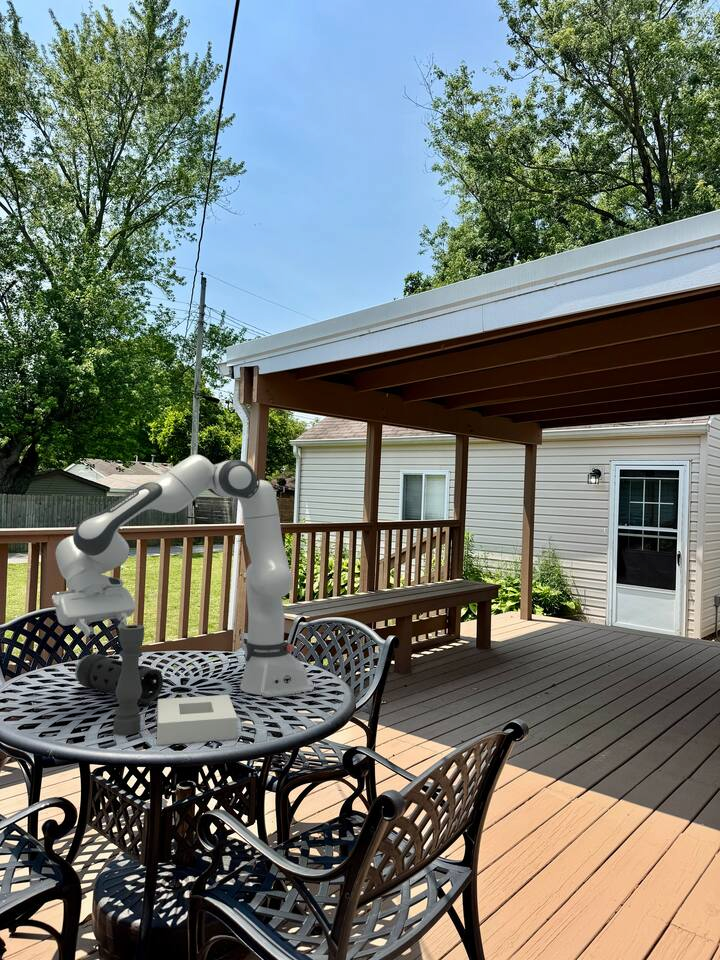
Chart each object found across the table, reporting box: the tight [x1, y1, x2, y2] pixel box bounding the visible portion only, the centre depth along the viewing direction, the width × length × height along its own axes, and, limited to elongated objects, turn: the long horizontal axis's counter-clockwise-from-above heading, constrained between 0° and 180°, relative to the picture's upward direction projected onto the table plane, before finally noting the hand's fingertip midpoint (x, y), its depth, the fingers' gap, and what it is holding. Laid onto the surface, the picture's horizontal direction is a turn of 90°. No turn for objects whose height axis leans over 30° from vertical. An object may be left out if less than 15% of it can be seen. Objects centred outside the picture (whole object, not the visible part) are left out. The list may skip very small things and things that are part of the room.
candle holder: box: [112, 624, 145, 736], centre depth 150 cm, size 6×6×25 cm
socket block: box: [156, 694, 238, 746], centre depth 152 cm, size 18×18×5 cm
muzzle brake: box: [74, 653, 164, 706], centre depth 175 cm, size 10×28×10 cm, turn 58°
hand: (107, 632), depth 156 cm, fingers open, 8 cm apart
